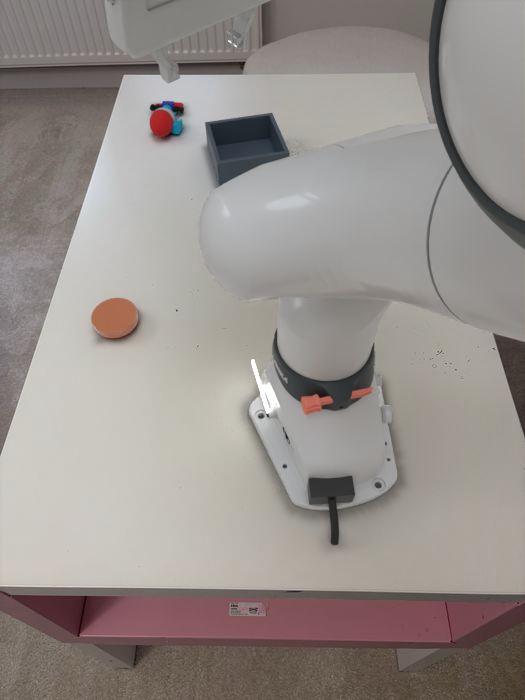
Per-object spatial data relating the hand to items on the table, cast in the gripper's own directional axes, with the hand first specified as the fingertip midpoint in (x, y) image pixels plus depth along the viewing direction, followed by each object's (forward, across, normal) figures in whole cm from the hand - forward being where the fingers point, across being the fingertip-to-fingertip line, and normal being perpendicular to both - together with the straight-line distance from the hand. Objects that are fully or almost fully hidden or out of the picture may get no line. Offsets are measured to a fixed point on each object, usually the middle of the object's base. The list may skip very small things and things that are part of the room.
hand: (204, 63), depth 59 cm
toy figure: (+38, +14, +38) cm, 56 cm away
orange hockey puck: (+33, -21, -2) cm, 39 cm away
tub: (+36, +19, +17) cm, 44 cm away
